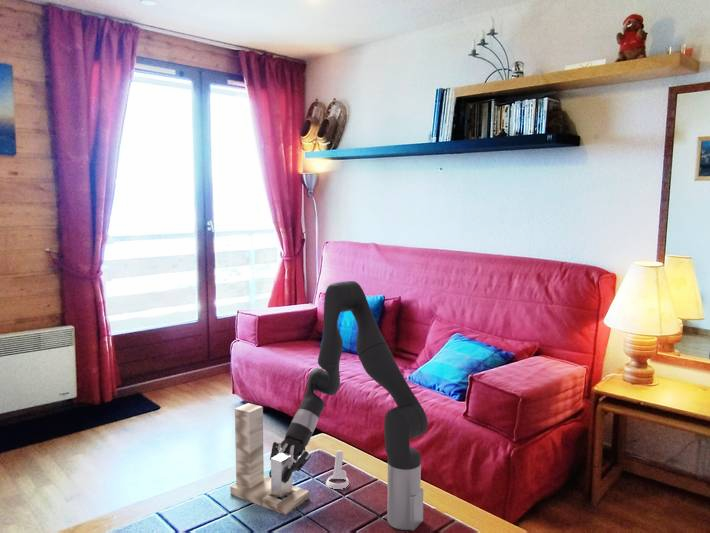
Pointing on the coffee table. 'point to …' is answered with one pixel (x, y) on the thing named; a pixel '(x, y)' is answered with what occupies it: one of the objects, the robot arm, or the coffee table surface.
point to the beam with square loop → (257, 464)
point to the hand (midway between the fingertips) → (277, 479)
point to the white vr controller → (338, 473)
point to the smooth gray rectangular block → (280, 475)
